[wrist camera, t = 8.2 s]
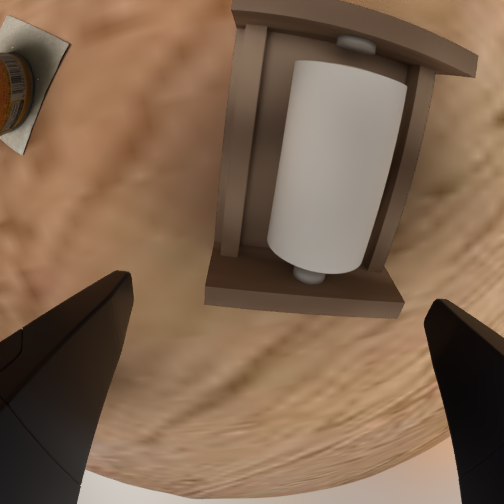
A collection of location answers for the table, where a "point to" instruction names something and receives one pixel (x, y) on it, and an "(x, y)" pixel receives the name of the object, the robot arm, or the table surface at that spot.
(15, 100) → the condiment
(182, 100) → the table surface
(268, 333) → the table surface
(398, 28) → the cradle
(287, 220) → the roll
